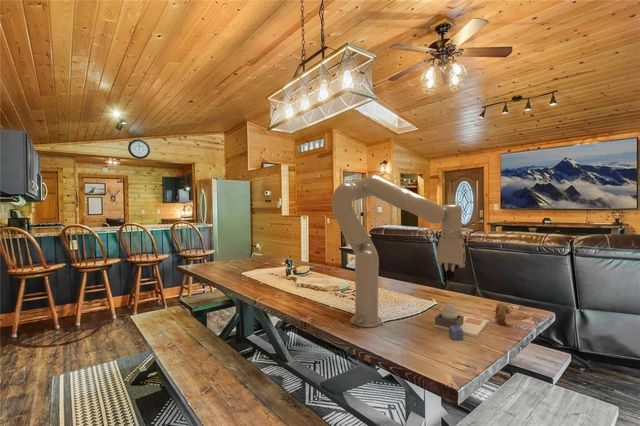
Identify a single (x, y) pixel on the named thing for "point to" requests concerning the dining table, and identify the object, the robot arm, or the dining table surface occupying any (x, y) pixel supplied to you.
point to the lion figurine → (501, 312)
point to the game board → (462, 324)
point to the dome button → (449, 312)
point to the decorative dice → (456, 332)
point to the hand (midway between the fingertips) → (450, 280)
